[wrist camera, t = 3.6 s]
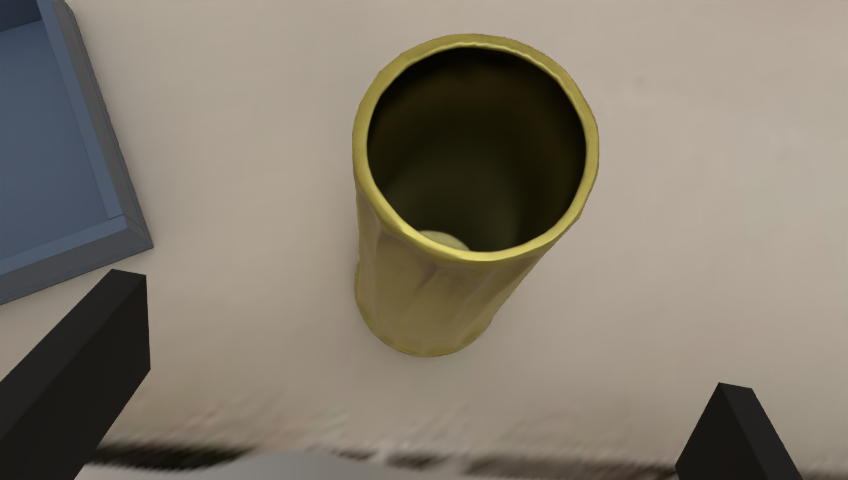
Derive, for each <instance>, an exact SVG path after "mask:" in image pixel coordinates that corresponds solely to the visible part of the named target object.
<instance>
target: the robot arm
mask: <svg viewBox="0 0 848 480" xmlns="http://www.w3.org/2000/svg"><path fill="white" fill-rule="evenodd" d="M150 369H151V368H150V347H149V326H148V305H147V284H146V275H143V274H137V273H132V272H127V271H121V270H116V269H111V270H110V271H109V272H108V273H107V274H106V275H105V276H104V277H103V278H102V279H101V281H100V282H99V283H98V284H97V285H96V286H95V287H94V288H93V289H92V290H91V291H90V292H89V293H88V294H87V295H86V296H85V297H84V298H83V299H82V300H81V301H80V302H79V303H78V304H77V305H76V306H75V307H74V308H73V309H72V310H71V311H70V312H69V313H68V314H67V315H66V316H65V317H64V318H63V319H62V320H61V321H60V322H59V323H58V324H57V325H56V326H55V327H54V328H53V329H52V330H51V331H50V332H49V333H48V334H47V335H46V336H45V337H44V338H43V339H42V340H41V341H40V342H39V343H38V344H37V345H36V346H35V347H34V348H33V349H32V350H31V351H30V352H29V353H28V354H27V355H26V357H25V358H24V359H23V360H22V361H21V362H20V363H19V364H18V365H17V366H16V367H15V368H14V369H13V370H12V371H11V372H10V373H9V374H8V375H7V376H6V377H5V378H4V379H3V380H2V381H1V382H0V480H74V479H75V477H76V476H77V475H78V473H79V472H80V470H81V469H82V467H83V466H84V464H85V463H86V462H87V460H88V459H89V457H90V456H91V454H92V453H93V451H94V450H95V449H96V447H97V446H98V444H99V443H100V441H101V440H102V439H103V437H104V436H105V434H106V433H107V431H108V430H109V428H110V427H111V426H112V424H113V423H114V421H115V420H116V418H117V417H118V415H119V414H120V413H121V411H122V410H123V408H124V407H125V405H126V404H127V403H128V401H129V400H130V398H131V397H132V395H133V394H134V392H135V391H136V390H137V388H138V387H139V385H140V384H141V382H142V381H143V379H144V378H145V377H146V375H147V374H148V372H149V371H150ZM675 468H676V471H677V474H678V477H679V479H680V480H803V479H802V477H801V475H800V474H799V472H798V470H797V468H796V467H795V465H794V463H793V461H792V459H791V458H790V456H789V454H788V452H787V450H786V449H785V447H784V445H783V443H782V442H781V440H780V438H779V436H778V434H777V433H776V431H775V429H774V427H773V425H772V424H771V422H770V420H769V418H768V417H767V415H766V413H765V411H764V409H763V408H762V406H761V404H760V402H759V400H758V399H757V397H756V395H755V393H754V392H753V390H752V388H746V387H741V386H736V385H730V384H725V383H720V382H719V383H718V385H717V387H716V389H715V391H714V393H713V395H712V396H711V398H710V400H709V402H708V404H707V406H706V408H705V410H704V412H703V414H702V415H701V417H700V419H699V421H698V423H697V425H696V427H695V429H694V431H693V432H692V434H691V436H690V438H689V440H688V442H687V444H686V446H685V448H684V450H683V451H682V453H681V455H680V457H679V459H678V461H677V463H676V465H675Z"/></svg>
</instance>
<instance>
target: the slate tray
mask: <svg viewBox="0 0 848 480" xmlns="http://www.w3.org/2000/svg"><path fill="white" fill-rule="evenodd" d="M152 247H153V244H152V241H151V238H150V235H149V232H148V229H147V226H146V223H145V220H144V218H143V215H142V212H141V209H140V206H139V203H138V200H137V197H136V194H135V191H134V188H133V185H132V183H131V180H130V177H129V174H128V171H127V168H126V165H125V162H124V159H123V156H122V153H121V151H120V148H119V145H118V142H117V139H116V136H115V133H114V130H113V127H112V124H111V121H110V119H109V116H108V113H107V110H106V107H105V104H104V101H103V98H102V95H101V92H100V89H99V86H98V84H97V81H96V78H95V75H94V72H93V69H92V66H91V63H90V60H89V57H88V54H87V52H86V49H85V46H84V43H83V40H82V37H81V34H80V31H79V28H78V25H77V22H76V20H75V17H74V14H73V11H72V10H71V9H70V7H69V6H68V5H67V3H66V2H65V1H64V0H0V305H1V304H4V303H7V302H9V301H12V300H15V299H17V298H20V297H23V296H25V295H28V294H31V293H33V292H36V291H38V290H41V289H44V288H46V287H49V286H52V285H54V284H57V283H60V282H62V281H65V280H68V279H70V278H73V277H76V276H78V275H81V274H83V273H86V272H89V271H91V270H94V269H97V268H99V267H102V266H105V265H107V264H110V263H113V262H115V261H118V260H121V259H123V258H126V257H128V256H131V255H134V254H136V253H139V252H142V251H144V250H147V249H150V248H152Z"/></svg>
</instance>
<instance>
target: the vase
mask: <svg viewBox="0 0 848 480" xmlns="http://www.w3.org/2000/svg"><path fill="white" fill-rule="evenodd" d="M352 151H353V173H354V181H355V187H356V204H357V216H358V228H359V261H358V264H357V269H356V274H355V297H356V301H357V305H358V307H359V310H360V313H361V314H362V316H363V318H364V320H365V322H366V323H367V325H368V326H369V328H370V329H371V330H372V331H373V332H374V334H375V335H376V336H377V337H379V338H380V339H381V340H382V341H383V342H385V343H386V344H388V345H389V346H391V347H393V348H395V349H397V350H399V351H401V352H404V353H407V354H411V355H415V356H424V357H430V356H440V355H445V354H450V353H453V352H456V351H458V350H460V349H462V348H464V347H465V346H467V345H469V344H470V343H471V342H473V341H474V340H475V339H476V338H477V337H478V336H480V335H481V334H482V333H483V332H484V331H485V330H486V328H487V327H488V325H489V324H490V322H491V319H492V317H493V316H494V315H495V313H496V312H497V310H498V309H499V308H500V307H501V306H502V304H503V303H504V302H505V301H506V300H507V299H508V298H509V296H510V295H511V294H512V293H513V292H514V290H515V289H516V288H517V286H518V285H519V284H520V282H521V281H522V280H523V279H524V278H525V277H526V276H527V275H528V273H529V272H530V271H531V270H532V268H533V267H534V266H535V265H536V264H537V262H538V261H539V260H540V259H541V258H542V257H543V255H544V254H545V253H546V252H547V251H548V250H549V249H550V248H551V247H552V246H553V245H554V244H555V243H556V242H557V241H558V240H559V239H560V238H561V237H562V236H563V235H564V234H565V233H566V232H567V230H568V229H569V228H570V227H571V226H572V225H573V224H574V223H575V222H576V221H577V220H578V219H579V217H580V215H581V213H582V210H583V208H584V206H585V203H586V201H587V199H588V197H589V195H590V192H591V190H592V188H593V185H594V183H595V181H596V178H597V173H598V168H599V135H598V127H597V124H596V120H595V117H594V115H593V113H592V111H591V109H590V107H589V105H588V103H587V102H586V100H585V98H584V96H583V95H582V93H581V91H580V90H579V88H578V86H577V85H576V83H575V82H574V81H573V79H572V78H571V77H570V76H569V74H568V73H567V72H566V71H565V70H564V69H563V68H562V67H561V66H560V65H558V64H557V63H556V62H555V61H554V60H552V59H551V58H549V57H548V56H546V55H545V54H543V53H542V52H540V51H538V50H536V49H534V48H533V47H531V46H528V45H526V44H524V43H521V42H519V41H516V40H513V39H509V38H505V37H499V36H491V35H483V34H455V35H447V36H443V37H440V38H436V39H433V40H430V41H428V42H425V43H423V44H420V45H418V46H416V47H414V48H412V49H410V50H408V51H405V52H403V53H401V54H400V55H399V56H398V57H397V58H395V59H394V60H393V61H392V62H391V63H389V64H388V65H387V66H386V67H385V68H383V69H382V70H381V71H380V72H379V73H378V75H377V76H376V78H375V79H374V81H373V82H372V84H371V85H370V87H369V88H368V90H367V92H366V94H365V95H364V97H363V99H362V101H361V102H360V105H359V108H358V111H357V114H356V117H355V121H354V127H353V133H352Z"/></svg>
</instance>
